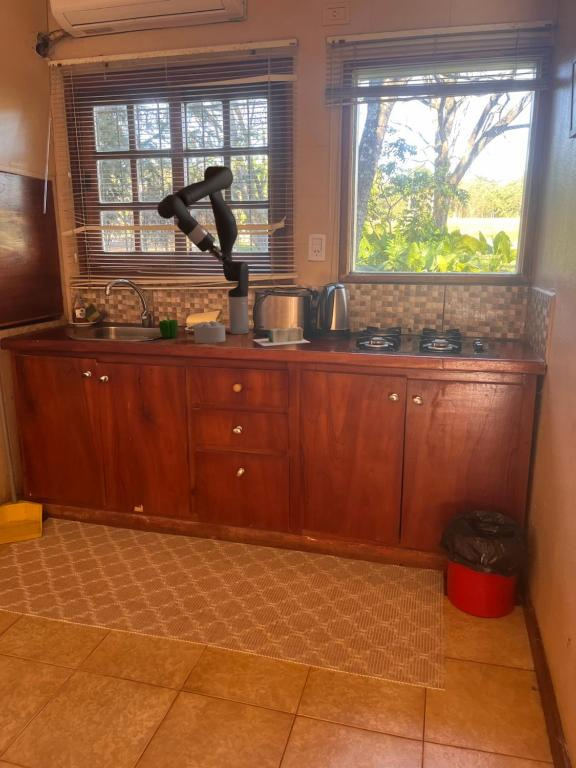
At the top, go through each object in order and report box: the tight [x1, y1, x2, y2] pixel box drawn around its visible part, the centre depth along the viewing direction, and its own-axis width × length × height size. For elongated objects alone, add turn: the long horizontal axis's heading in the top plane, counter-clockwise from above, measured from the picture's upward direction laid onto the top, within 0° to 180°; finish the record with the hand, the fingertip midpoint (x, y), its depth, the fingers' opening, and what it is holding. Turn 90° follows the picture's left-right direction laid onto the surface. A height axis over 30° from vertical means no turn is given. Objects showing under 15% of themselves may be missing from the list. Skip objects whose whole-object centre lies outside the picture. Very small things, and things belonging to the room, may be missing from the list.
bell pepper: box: [158, 315, 179, 339], centre depth 248 cm, size 8×8×10 cm
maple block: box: [267, 326, 304, 343], centre depth 235 cm, size 5×5×14 cm
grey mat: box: [252, 338, 310, 347], centre depth 235 cm, size 16×21×1 cm
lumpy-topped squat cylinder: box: [193, 320, 226, 345], centre depth 238 cm, size 10×13×9 cm
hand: (231, 267), depth 226 cm, fingers closed
